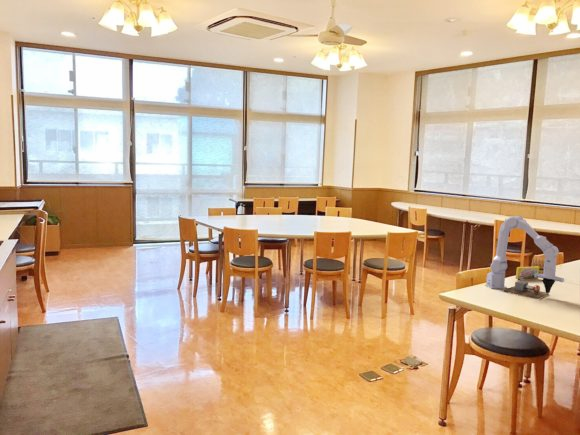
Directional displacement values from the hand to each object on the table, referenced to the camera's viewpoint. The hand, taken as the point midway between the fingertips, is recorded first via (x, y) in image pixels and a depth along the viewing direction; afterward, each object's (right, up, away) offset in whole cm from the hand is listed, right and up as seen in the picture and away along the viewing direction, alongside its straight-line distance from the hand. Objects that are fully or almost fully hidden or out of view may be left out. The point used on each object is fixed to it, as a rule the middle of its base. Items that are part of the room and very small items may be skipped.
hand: (547, 292), depth 261 cm
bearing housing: (-9, -2, +11) cm, 15 cm away
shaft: (-7, -1, +8) cm, 10 cm away
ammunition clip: (+24, +2, +54) cm, 59 cm away
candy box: (+10, +1, +42) cm, 43 cm away
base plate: (-8, -2, +9) cm, 12 cm away
